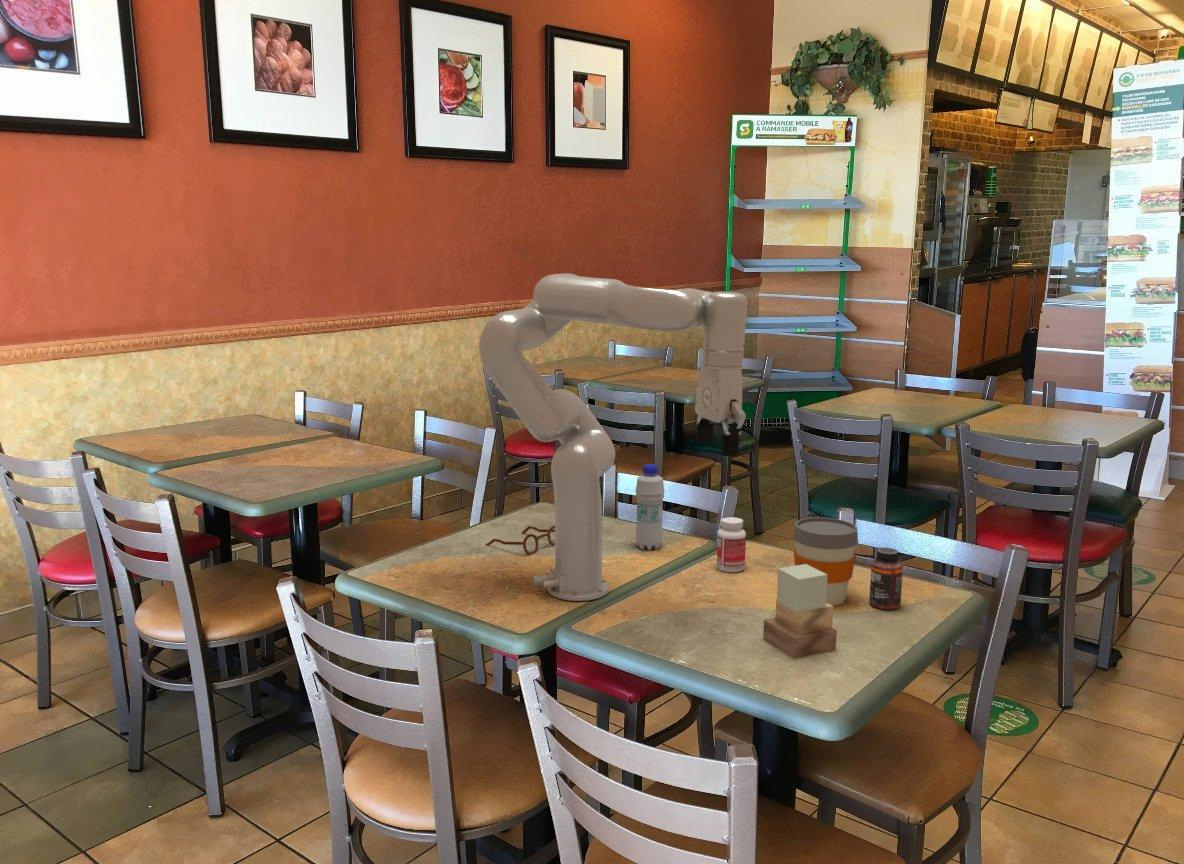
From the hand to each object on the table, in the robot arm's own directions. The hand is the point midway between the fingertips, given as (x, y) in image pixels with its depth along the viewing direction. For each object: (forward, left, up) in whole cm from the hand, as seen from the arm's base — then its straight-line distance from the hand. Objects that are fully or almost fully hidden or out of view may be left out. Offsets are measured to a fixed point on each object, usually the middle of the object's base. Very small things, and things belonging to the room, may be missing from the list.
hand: (716, 449), depth 177 cm
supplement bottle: (+32, -12, -32) cm, 47 cm away
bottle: (+5, +38, -32) cm, 50 cm away
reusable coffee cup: (+23, -4, -32) cm, 40 cm away
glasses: (-21, +52, -32) cm, 64 cm away
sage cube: (+6, -21, -24) cm, 32 cm away
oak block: (+7, -21, -28) cm, 35 cm away
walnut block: (+6, -21, -32) cm, 39 cm away
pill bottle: (+15, +18, -32) cm, 40 cm away
